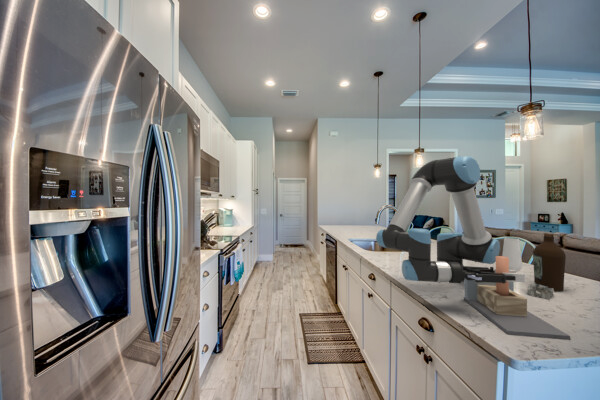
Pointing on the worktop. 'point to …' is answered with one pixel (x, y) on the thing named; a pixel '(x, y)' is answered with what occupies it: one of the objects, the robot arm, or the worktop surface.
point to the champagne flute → (512, 253)
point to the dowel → (502, 267)
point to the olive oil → (549, 264)
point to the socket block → (502, 301)
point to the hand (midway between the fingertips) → (519, 276)
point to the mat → (520, 323)
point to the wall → (471, 288)
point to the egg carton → (540, 291)
